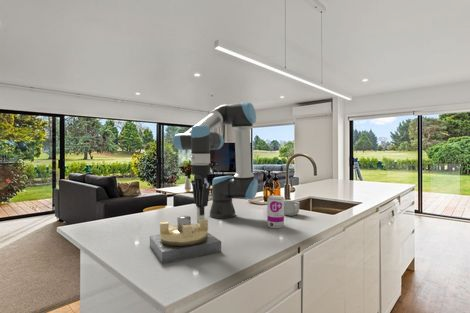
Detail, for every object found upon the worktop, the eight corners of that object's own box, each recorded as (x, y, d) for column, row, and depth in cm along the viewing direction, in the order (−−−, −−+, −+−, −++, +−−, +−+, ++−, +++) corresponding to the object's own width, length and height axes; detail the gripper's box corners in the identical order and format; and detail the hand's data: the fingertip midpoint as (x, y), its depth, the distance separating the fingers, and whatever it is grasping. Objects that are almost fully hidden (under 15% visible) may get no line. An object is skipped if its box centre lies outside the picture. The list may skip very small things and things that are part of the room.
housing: (149, 245, 108) (149, 235, 108) (201, 237, 118) (201, 227, 118) (161, 263, 90) (161, 251, 90) (221, 251, 101) (221, 240, 101)
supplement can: (283, 228, 131) (283, 198, 130) (266, 228, 132) (266, 197, 132) (284, 224, 138) (284, 195, 138) (268, 223, 140) (267, 194, 140)
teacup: (279, 213, 165) (279, 200, 165) (296, 212, 166) (296, 199, 165) (285, 218, 151) (285, 204, 151) (304, 218, 152) (304, 203, 152)
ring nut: (179, 228, 116) (179, 210, 116) (216, 234, 108) (215, 214, 108) (149, 241, 100) (149, 220, 100) (189, 248, 92) (189, 225, 92)
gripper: (185, 163, 111) (185, 220, 112) (199, 165, 101) (199, 228, 101) (201, 163, 116) (201, 218, 116) (216, 164, 105) (216, 225, 105)
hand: (200, 222), depth 109 cm, fingers closed
